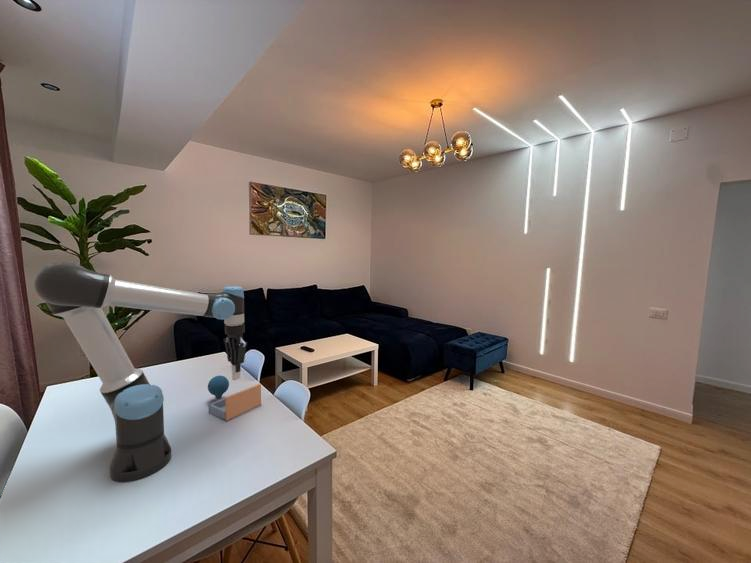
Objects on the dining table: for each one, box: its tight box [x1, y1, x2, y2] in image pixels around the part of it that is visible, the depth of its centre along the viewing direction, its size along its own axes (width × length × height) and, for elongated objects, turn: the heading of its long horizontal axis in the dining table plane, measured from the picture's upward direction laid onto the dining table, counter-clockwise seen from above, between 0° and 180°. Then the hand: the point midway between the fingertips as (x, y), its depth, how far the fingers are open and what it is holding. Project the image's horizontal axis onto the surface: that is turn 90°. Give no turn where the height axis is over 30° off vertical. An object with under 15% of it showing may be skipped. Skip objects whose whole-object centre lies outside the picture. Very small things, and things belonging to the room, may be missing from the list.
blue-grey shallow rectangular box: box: [208, 397, 226, 422], centre depth 128 cm, size 16×11×4 cm
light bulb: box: [207, 375, 230, 401], centre depth 134 cm, size 8×8×12 cm
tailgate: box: [224, 383, 262, 422], centre depth 124 cm, size 16×1×10 cm, turn 149°
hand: (236, 378), depth 127 cm, fingers closed
